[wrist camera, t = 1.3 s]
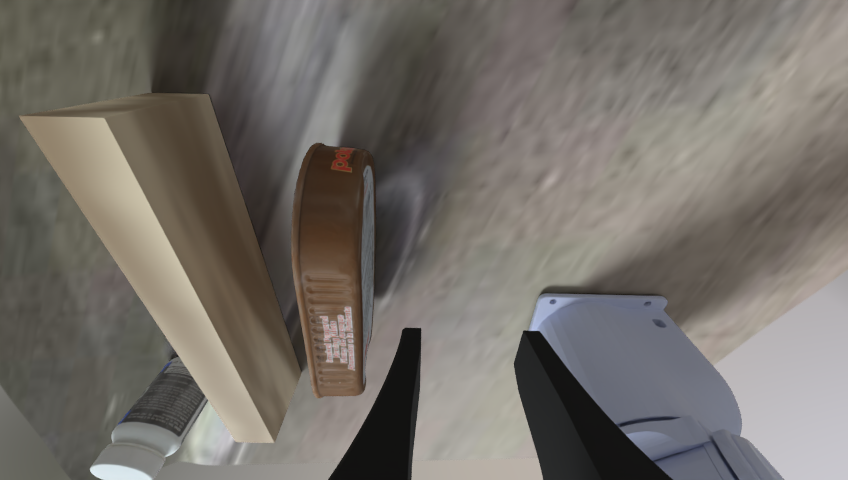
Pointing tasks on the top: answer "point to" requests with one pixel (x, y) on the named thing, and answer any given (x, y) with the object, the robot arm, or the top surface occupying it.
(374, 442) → the robot arm
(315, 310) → the tin
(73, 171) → the board
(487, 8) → the top surface
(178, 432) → the pill bottle
